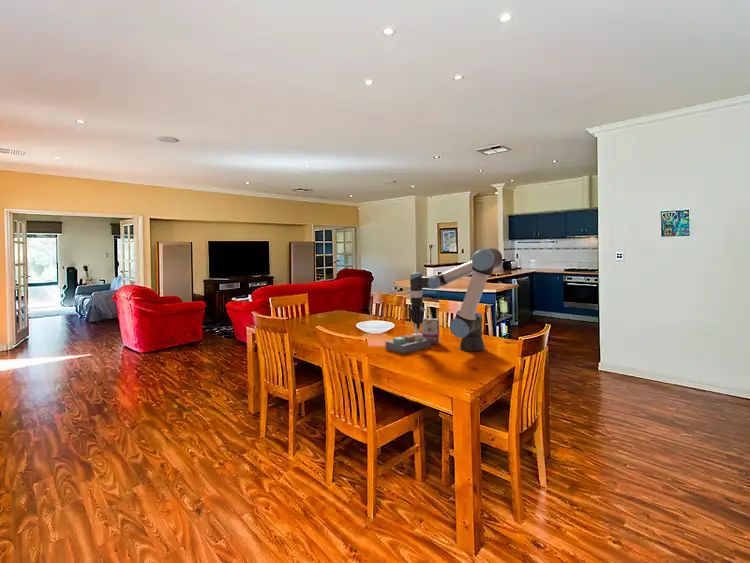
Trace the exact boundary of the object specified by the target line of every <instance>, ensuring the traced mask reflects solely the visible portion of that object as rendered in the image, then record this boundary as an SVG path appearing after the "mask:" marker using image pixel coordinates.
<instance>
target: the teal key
mask: <svg viewBox="0 0 750 563" xmlns="http://www.w3.org/2000/svg"><path fill="white" fill-rule="evenodd" d="M392 338H393V339H392V340H393V343H396V344H402V343H406V338H403V337H402V336H397V337H392Z"/></svg>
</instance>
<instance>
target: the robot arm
mask: <svg viewBox="0 0 750 563" xmlns="http://www.w3.org/2000/svg"><path fill="white" fill-rule="evenodd" d="M502 262H503V255H502V252H501V251H499V250H498V249H497V248H481V249H478V250H476V251H475V252H474V253H473V255H472V257H471V261H470V260H469V261H468V262H466V263H462V264H461V265H458V266H457V267H454V268H451V269H449V270H447V271H444V272H441V273H440V274H436V275H431V276H429V275H428V276H426V275H425V276H424V275H423V273H422V272H411V273H410V275H409V276H410V279H409V283H410V285H409V287H410V288H409V289H410V292H409V293H410V296H409V297H410V303H411V305H409V306H408V310H409V316H410V320H411V322H412V323H413V327H414V328H413V329H414V333H415V334H418V333H419V334H420V329H421V323H422V321H423V318H424V314H425V311H426V308H424V307H423V305H422V303H423V289H429V290H435V289H439V288H440V287H445V286H447V285H448V284H450V283H454V282H456V281H457V280H461V279H462V278H466V277H468V276H471V277H470V280H469V284H468V287H467V290H466V291H465V292H466V293H465V295H464V297H463V301H462V304H461V307H460V310H457V311H456V314H455V315H454V318H453V319H452V320H451V321H450V322H449V330H450V332H451V334H452V335H453V336H454V337H456V338H461V340H460V343H459V349H460V350H461V351H465V352H469V353H470V352H471V353H473V352H474V353H478V352H483V351H485V350H486V345H485V343H484V340H483V315H482V313H480V312H477V310H478V306H479V304H480V301H481V298H482V295H483V292H484V289H485V286H486V283H487V280H488V278H489V277H492V274H493V273H494V269H496V268H499V266H500V265H501V264H502Z"/></svg>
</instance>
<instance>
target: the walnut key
mask: <svg viewBox="0 0 750 563" xmlns="http://www.w3.org/2000/svg"><path fill="white" fill-rule="evenodd" d="M401 337H403V338H406V342H411V341H415V340H414V336H411V334H406V335H402V336H401Z"/></svg>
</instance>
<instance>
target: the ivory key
mask: <svg viewBox="0 0 750 563" xmlns="http://www.w3.org/2000/svg"><path fill="white" fill-rule="evenodd" d="M410 335H411V336H414V340H420V339H423V334H422V333H420V332H419V333H418V334H415V332H414V333H410Z"/></svg>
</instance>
